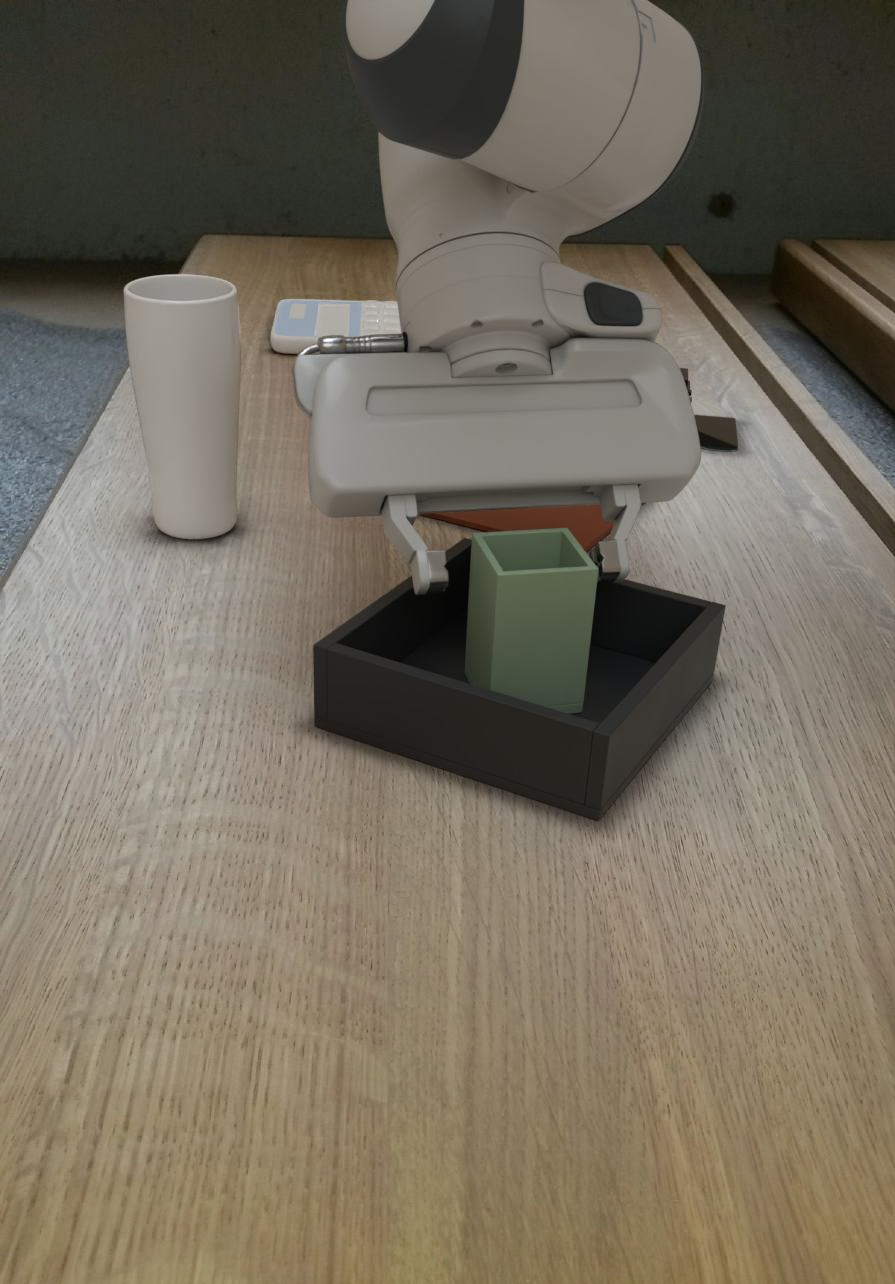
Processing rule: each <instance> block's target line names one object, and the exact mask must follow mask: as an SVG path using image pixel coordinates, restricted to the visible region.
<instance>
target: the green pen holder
mask: <svg viewBox="0 0 895 1284" xmlns="http://www.w3.org/2000/svg"><path fill="white" fill-rule="evenodd" d="M471 540H472V545H471V563H470V582H469V600H468V618H467V636H466V654H465V675H466V677H467V679H468V681H469V683H470V684H472V685H475V686H479V687H482V688H485V689H488V690H492V691H495V692H498V693H502V694H505V695H508V696H511V697H515V698H518V699H521V700H525V701H528V702H531V703H534V704H538V705H541V706H544V707H548V708H551V709H554V710H558V711H561V712H564V713H567V714H573V713H582V710H583V702H584V694H585V685H586V676H587V667H588V658H589V649H590V640H591V631H592V623H593V614H594V605H595V596H596V587H597V578H598V568H597V566H596V565H595V564H594V562H593V561H592V560H591V558H590V557H589V553H587V552H585V550H584V549H583V548H582V547H581V545H580V544H579V543H578V541H577V540H576V539H575V537H574V536H573V535H572V533H571V532H570V531H569V529H568V528H555V529H537V530H519V531H501V532H487V531H483V532H472V533H471Z"/></svg>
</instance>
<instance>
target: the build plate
mask: <svg viewBox="0 0 895 1284" xmlns="http://www.w3.org/2000/svg"><path fill="white" fill-rule="evenodd" d="M679 368H680V370H681V373H682V375H683V378H684V381H685V384H686V388H687V391H688V394H689V398H690V401H691V403H692V401H693V397H692V393H693V390H692V389H691V380H689V368H685V367H679ZM694 417H695V421H696V426H697V431H698V436H699V441H700V448H701V449H705V450H708V451H721V452H736V451H739V440H738V432H737V431H738V430H737V424H736V423H737V422H736V418H735V417H729V416H716V415H707V414H706V415H705V414H695V413H694Z"/></svg>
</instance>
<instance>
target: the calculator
mask: <svg viewBox="0 0 895 1284" xmlns="http://www.w3.org/2000/svg"><path fill="white" fill-rule="evenodd" d="M373 334H401V327H400V320H399V312H398V305H397V300H386V301H381V300H379V301H378V300H374V299H368V300H367V299H366V300H345V299H318V298H317V299H315V298H314V299H312V298H311V299H310V298H285V299H281V300H279V301H278V302H277V305H276V309H275V314H274V318H273V322H272V326H271V330H270V335H269V337H270V339H269V340H270V346H271V348H272V349H273V351H275V352H276V353H281V354H287V355H289V354H290V355H298V354H299V353H300V352H301V351H302V350H303V349H304V348H306V347H308V346H310V345H313V344H317V343H318V338H320V337H323V336H329V335H343V336H344V337H359V336H365V335H368V336H369V335H373ZM317 354H318V352H316V353H313V354H312V355H317Z"/></svg>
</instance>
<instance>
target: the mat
mask: <svg viewBox="0 0 895 1284" xmlns="http://www.w3.org/2000/svg"><path fill="white" fill-rule="evenodd" d="M644 504H645V503H641V506H643V505H644ZM419 515H420V516H425V517H428V518H432V519H436V520H439V521H444V522H447V523H452V524H455V525H459V526H464V527H466V528H472V529H476V530H480V531H483V532H501V531H519V530H537V529H555V528H568V529H569V531H570V532H571V533H572V535H573V536H574V537H575V539H576V540H577V541H578V543H579V544H580V545H581V547H582V548H583V549H584V550H585V552H586V553H587V552H588V551H589V550H591V549H593V547H595V545H596V544H597V543H598V542H599V541H602V539H603V538H605V537H606V536H607V535H608V534H610V533H611V530H612V528H613V525H614V520H613V521H612V522H605V521H603V515H602V509H601V505H586V506H566V507H545V508H525V509H505V510H485V511H464V512H443V513H423V514H419Z"/></svg>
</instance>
